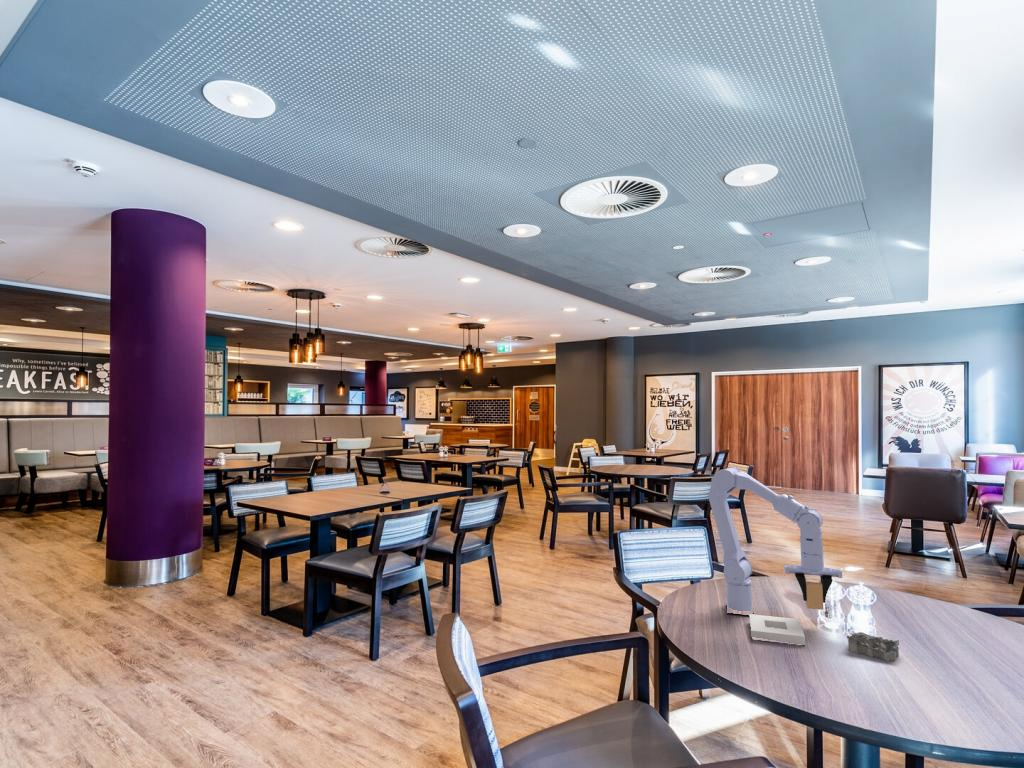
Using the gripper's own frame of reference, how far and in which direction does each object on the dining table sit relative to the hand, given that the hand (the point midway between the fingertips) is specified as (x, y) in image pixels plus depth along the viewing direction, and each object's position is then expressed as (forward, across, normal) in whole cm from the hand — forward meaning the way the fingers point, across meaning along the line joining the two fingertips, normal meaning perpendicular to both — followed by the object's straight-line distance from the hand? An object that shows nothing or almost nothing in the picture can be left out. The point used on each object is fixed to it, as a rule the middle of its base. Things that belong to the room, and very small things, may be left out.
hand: (814, 600), depth 158 cm
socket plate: (+7, -11, -10) cm, 16 cm away
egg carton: (+8, +11, -15) cm, 20 cm away
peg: (+2, 0, 0) cm, 2 cm away
